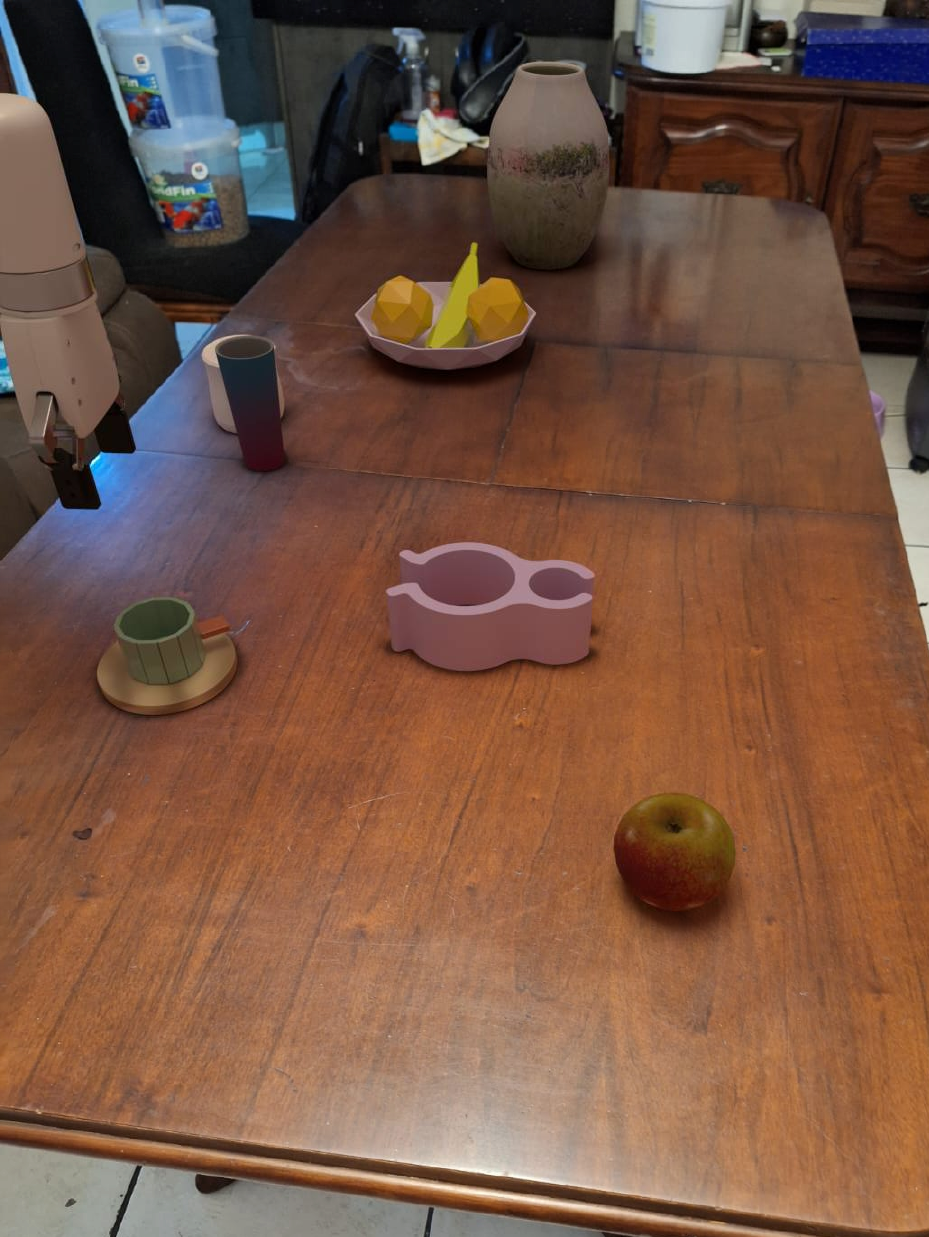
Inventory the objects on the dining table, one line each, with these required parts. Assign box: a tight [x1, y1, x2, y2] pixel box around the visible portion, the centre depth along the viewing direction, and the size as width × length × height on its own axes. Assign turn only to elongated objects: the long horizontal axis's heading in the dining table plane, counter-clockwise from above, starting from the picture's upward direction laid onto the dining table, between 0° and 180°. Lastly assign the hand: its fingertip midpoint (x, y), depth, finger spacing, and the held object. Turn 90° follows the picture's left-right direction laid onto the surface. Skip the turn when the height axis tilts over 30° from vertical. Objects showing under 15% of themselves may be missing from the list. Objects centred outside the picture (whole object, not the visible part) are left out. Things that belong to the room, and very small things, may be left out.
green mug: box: [113, 596, 231, 684], centre depth 98 cm, size 10×7×5 cm
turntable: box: [96, 622, 238, 716], centre depth 100 cm, size 13×13×1 cm
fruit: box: [613, 792, 737, 912], centre depth 80 cm, size 10×9×8 cm
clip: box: [385, 541, 596, 672], centre depth 103 cm, size 20×12×7 cm, turn 85°
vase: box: [486, 61, 610, 271], centre depth 178 cm, size 21×21×30 cm
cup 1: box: [200, 334, 286, 435], centre depth 136 cm, size 10×10×10 cm
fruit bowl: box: [354, 241, 537, 371], centre depth 154 cm, size 28×27×11 cm
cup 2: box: [215, 334, 286, 472], centre depth 126 cm, size 7×7×15 cm
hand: (101, 478), depth 91 cm, fingers open, 9 cm apart
